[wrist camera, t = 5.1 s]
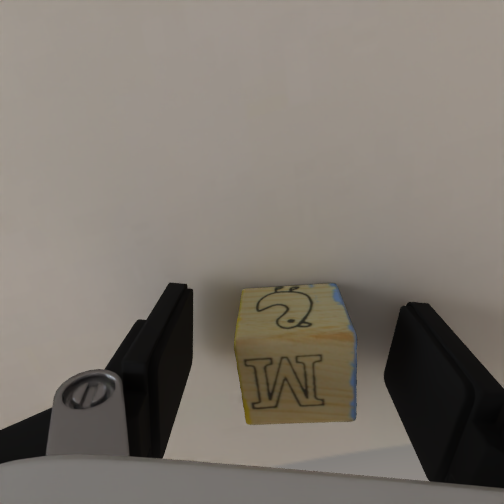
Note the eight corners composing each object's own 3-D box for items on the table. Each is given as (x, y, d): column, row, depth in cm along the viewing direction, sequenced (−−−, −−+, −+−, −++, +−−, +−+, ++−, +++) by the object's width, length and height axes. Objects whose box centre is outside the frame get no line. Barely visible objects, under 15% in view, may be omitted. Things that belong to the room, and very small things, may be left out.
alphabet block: (337, 356, 12) (359, 428, 9) (250, 361, 12) (245, 432, 10) (335, 278, 11) (359, 332, 8) (240, 286, 11) (231, 340, 9)
